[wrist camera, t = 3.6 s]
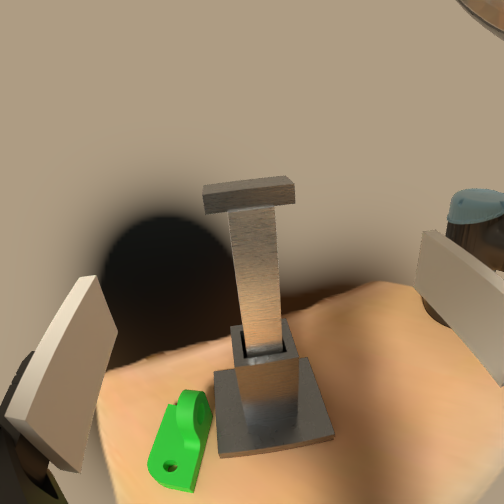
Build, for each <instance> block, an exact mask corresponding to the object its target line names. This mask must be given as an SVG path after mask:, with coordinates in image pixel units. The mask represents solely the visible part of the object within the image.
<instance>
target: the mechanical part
mask: <svg viewBox="0 0 504 504" xmlns="http://www.w3.org/2000/svg"><path fill="white" fill-rule="evenodd" d="M212 418H213V416H212V413H211V410H210V407H209V404H208V401H207V398H206V395H205V393H204V392H203V391H195V390H184V391H182V393H181V394H180V396H179V399H178V403H177V405H171V404H168V406H167V409H166V412H165V414H164V417H163V420H162V422H161V425H160V428H159V430H158V433H157V436H156V439H155V441H154V444H153V447H152V450H151V452H150V455H149V458H148V462H147V466H148V470H149V473H150V474H151V476H152V477H153V478H154V479H155V480H156V481H157V482H158V483H159V484H161V485H162V486H164V487H167V488H170V489H175V490H180V491H185V492H190V493H194V489H195V485H196V481H197V477H198V473H199V469H200V465H201V461H202V457H203V453H204V449H205V445H206V441H207V437H208V433H209V430H210V426H211V422H212ZM173 465H177V469H176V470H175V471H173V472H167V471H168V468H169V467H170V466H173Z"/></svg>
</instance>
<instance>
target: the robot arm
mask: <svg viewBox="0 0 504 504" xmlns="http://www.w3.org/2000/svg"><path fill="white" fill-rule="evenodd" d="M456 1H457V2H458V3H459V4H460V5H461V6H462V8H463V9H464V10H465V11H466V12H467V13H468V14H469V15H470V16H471V17H473V18H474V19H475V20H476V21H477V22H479V23H480V24H481V25H482V26H483V27H485V28H486V29H488V30H489V31H490V32H492V33H493V34H494V35H496V36H497V37H499V38H500V39H502V40H504V0H456ZM447 220H448V224H447V230H446V236H444V235H443V234H441V233H440V232H438V231H437V230H431V231H423V234H422V241H421V248H420V253H419V259H418V265H417V270H416V276H415V281H414V286H413V287H414V288H415V290H416V291H417V292H418V293H419V294H420V295H421V296H422V297H423V298H424V300H423V302H424V306H425V309H426V310H427V312H428V313H429V314H430V315H431V316H432V317H433V318H434V319H435V320H436V321H438V322H439V323H441V324H443V325H445V326H447V327H450V328H452V329H453V331H454V332H455V333H456V334H457V335H458V336H459V337H460V339H461V340H462V341H463V342H464V343H465V344H466V346H467V347H468V348H469V349H470V350H471V351H472V353H473V354H474V355H475V356H476V357H477V359H478V360H479V361H480V362H481V364H482V365H483V366H484V367H485V368H486V370H487V371H488V372H489V373H490V375H491V376H492V377H493V379H494V380H495V381H496V382H497V384H498V385H499V386H500V388H501V387H502V386H504V279H503V278H501V277H500V276H499V275H497V274H496V273H495V271H496V270H499V271H503V272H504V193H500V192H497V191H494V190H489V189H465V190H461V191H459V192H457V193H455V194H454V196H453V197H452V199H451V204H450V210H449V214H448V216H447ZM117 333H118V331H117V329H116V326H115V324H114V321H113V319H112V316H111V314H110V311H109V309H108V306H107V303H106V301H105V298H104V296H103V293H102V290H101V288H100V285H99V282H98V279H97V276H96V275H94V276H86V277H80V278H79V279H78V281H77V282H76V284H75V285H74V287H73V288H72V290H71V291H70V293H69V294H68V296H67V298H66V299H65V301H64V302H63V304H62V306H61V307H60V309H59V311H58V312H57V314H56V315H55V317H54V319H53V321H52V323H51V324H50V326H49V328H48V329H47V331H46V333H45V334H44V336H43V338H42V340H41V342H40V343H39V345H38V347H37V349H36V351H32V352H31V353H30V354H29V355H28V356H27V357H26V358H25V359H24V360H23V361H22V363H21V365H20V367H19V369H18V371H17V372H16V374H17V375H16V376H15V377H14V378H13V380H12V385H10V387H9V389H8V391H7V393H6V395H5V397H4V399H3V401H2V404H1V406H0V504H68V502H67V500H66V499H65V497H64V495H63V493H62V491H61V490H60V488H59V486H58V484H57V482H56V480H55V478H54V476H53V474H52V473H51V471H50V470H49V469H48V464H49V461H50V462H51V463H53V464H54V465H55V466H56V467H57V468H59V469H60V470H63V471H68V472H74V473H81V468H82V463H83V459H84V453H85V449H86V444H87V440H88V435H89V431H90V427H91V423H92V419H93V414H94V411H95V407H96V403H97V399H98V396H99V392H100V388H101V385H102V381H103V378H104V374H105V371H106V368H107V364H108V361H109V358H110V354H111V351H112V348H113V345H114V342H115V339H116V336H117Z"/></svg>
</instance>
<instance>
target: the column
mask: <svg viewBox="0 0 504 504" xmlns="http://www.w3.org/2000/svg"><path fill="white" fill-rule="evenodd" d="M202 196H203V202H204V209H205V215H207V214H215V213H222V212H227V213H228V221H229V229H230V237H231V244H232V252H233V258H234V267H235V274H236V281H237V288H238V295H239V302H240V310H241V317H242V324H243V331H244V337H245V344H246V351H247V357H248V358H254V357H260V356H267V355H273V354H279V353H283V349H282V326H281V307H280V285H279V268H278V251H277V234H276V219H275V207H274V206H277V205H286V204H295V187H294V183H293V182H292V181H291V180H290V179H289V178H288V177H286V176H277V177H268V178H259V179H250V180H241V181H233V182H226V183H218V184H211V185H204V186H203V194H202Z"/></svg>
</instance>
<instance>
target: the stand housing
mask: <svg viewBox="0 0 504 504" xmlns="http://www.w3.org/2000/svg"><path fill="white" fill-rule="evenodd" d="M281 326H282V349H283V353H279V354H273V355H267V356H260V357H254V358H248V357H247V351H246V344H245V337H244V331H243V325H238V326H231V327H230V328H231V338H232V347H233V357H234V366H235V369H231V370H223V371H214V389H215V409H216V426H217V442H218V454H219V456H220V459H221V458H232V457H241V456H249V455H257V454H264V453H270V452H276V451H282V450H287V449H293V448H298V447H303V446H307V445H312V444H316V443H320V442H325V441H329V440H332V439H334V435H335V433H334V430H333V427H332V424H331V421H330V419H329V416H328V413H327V410H326V407H325V405H324V402H323V399H322V396H321V393H320V391H319V388H318V385H317V382H316V379H315V377H314V374H313V371H312V368H311V366H310V363H309V360H308V357H305V358H300V359H299V355H298V352H297V349H296V346H295V343H294V340H293V337H292V334H291V332H290V329H289V326H288V323H287V320H286V318H284V319H281Z"/></svg>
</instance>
